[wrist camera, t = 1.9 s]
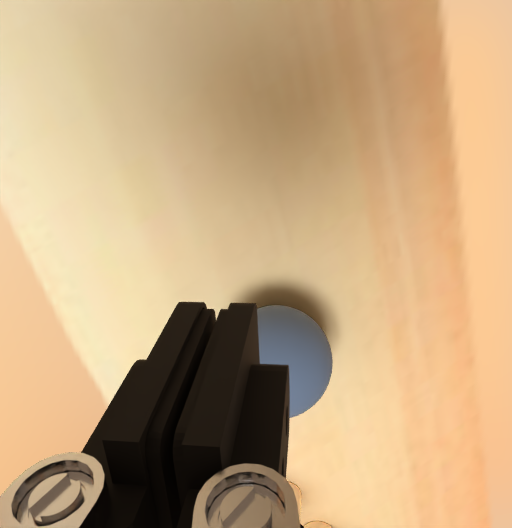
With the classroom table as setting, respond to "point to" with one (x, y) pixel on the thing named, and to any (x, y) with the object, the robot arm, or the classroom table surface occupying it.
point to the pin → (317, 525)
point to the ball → (296, 353)
